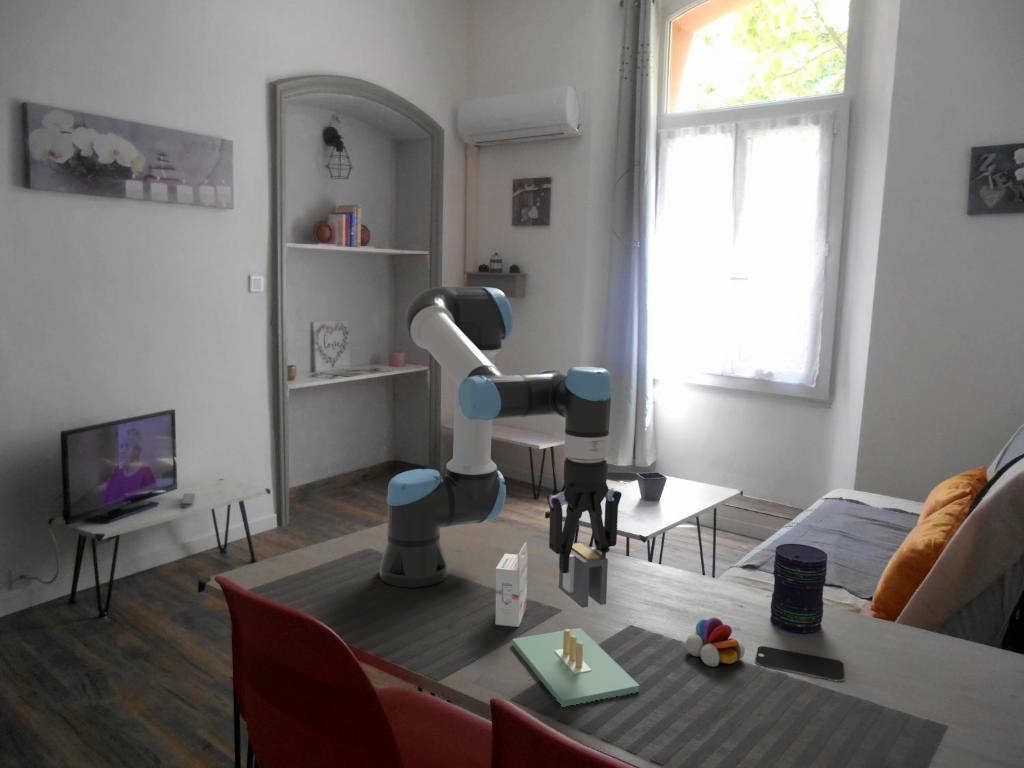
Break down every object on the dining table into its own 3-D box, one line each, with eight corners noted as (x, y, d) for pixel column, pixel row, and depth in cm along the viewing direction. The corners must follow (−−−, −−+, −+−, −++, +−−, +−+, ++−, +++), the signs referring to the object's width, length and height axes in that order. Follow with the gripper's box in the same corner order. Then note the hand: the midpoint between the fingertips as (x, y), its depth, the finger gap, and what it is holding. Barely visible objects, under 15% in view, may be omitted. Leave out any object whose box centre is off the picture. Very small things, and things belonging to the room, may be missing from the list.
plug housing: (558, 588, 141) (560, 543, 139) (581, 584, 142) (583, 540, 141) (582, 607, 132) (583, 560, 131) (606, 603, 134) (607, 557, 133)
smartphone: (757, 644, 147) (844, 661, 141) (757, 648, 147) (844, 664, 141) (753, 663, 140) (844, 681, 134) (753, 667, 140) (844, 685, 134)
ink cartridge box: (503, 606, 161) (504, 538, 159) (526, 609, 160) (528, 540, 158) (493, 625, 153) (495, 553, 151) (518, 628, 152) (520, 555, 150)
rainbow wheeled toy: (714, 675, 136) (716, 635, 135) (678, 650, 145) (680, 613, 144) (750, 664, 140) (753, 626, 139) (713, 641, 149) (716, 605, 147)
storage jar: (778, 608, 163) (783, 540, 161) (827, 621, 158) (833, 550, 156) (762, 625, 155) (768, 553, 153) (814, 640, 150) (820, 565, 147)
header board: (512, 645, 145) (512, 616, 144) (580, 633, 150) (581, 605, 149) (562, 707, 125) (563, 674, 124) (639, 692, 130) (640, 660, 129)
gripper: (548, 467, 127) (545, 603, 130) (642, 458, 134) (636, 588, 137) (530, 456, 134) (526, 586, 137) (619, 449, 141) (614, 573, 144)
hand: (581, 587), depth 137 cm, fingers closed on plug housing, 5 cm apart
